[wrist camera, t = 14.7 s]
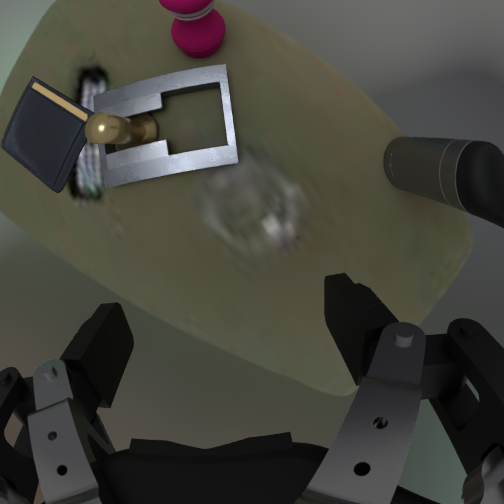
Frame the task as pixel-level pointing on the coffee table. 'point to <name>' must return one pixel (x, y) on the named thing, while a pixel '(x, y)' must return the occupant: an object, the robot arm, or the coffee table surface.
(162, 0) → the pepper mill
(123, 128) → the bolt
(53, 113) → the wallet
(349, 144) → the coffee table surface
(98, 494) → the robot arm
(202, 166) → the keyhole plate
